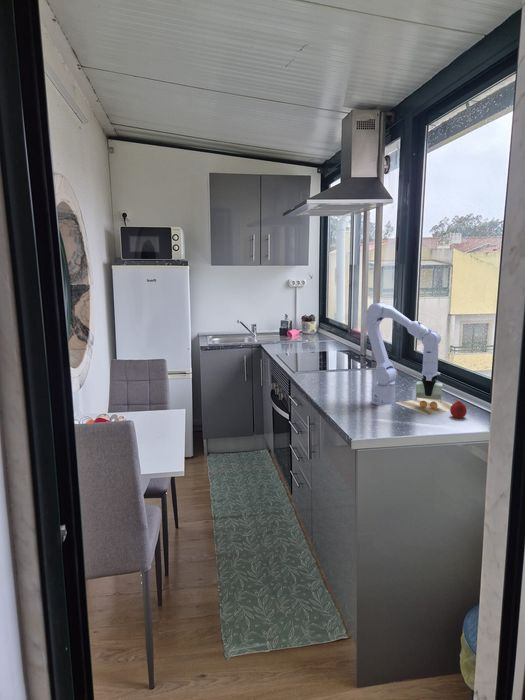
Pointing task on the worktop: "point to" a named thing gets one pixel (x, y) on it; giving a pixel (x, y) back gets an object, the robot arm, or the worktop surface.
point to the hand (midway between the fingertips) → (428, 393)
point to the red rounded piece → (458, 409)
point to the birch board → (427, 410)
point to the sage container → (435, 393)
